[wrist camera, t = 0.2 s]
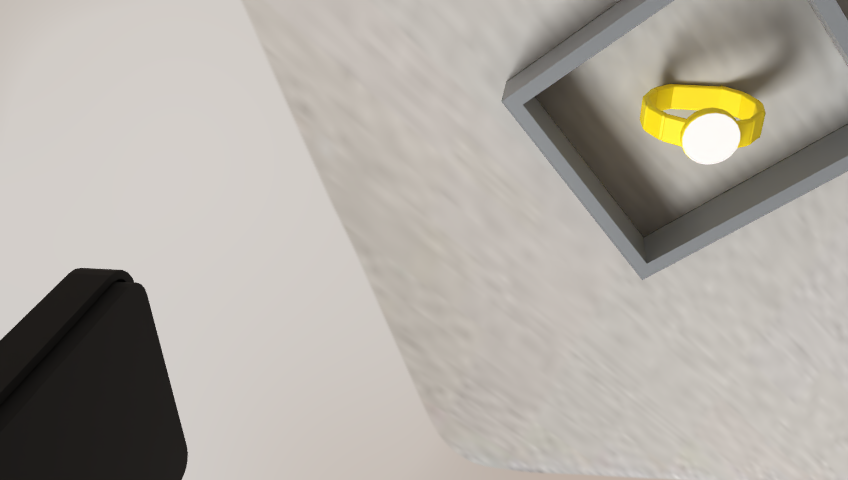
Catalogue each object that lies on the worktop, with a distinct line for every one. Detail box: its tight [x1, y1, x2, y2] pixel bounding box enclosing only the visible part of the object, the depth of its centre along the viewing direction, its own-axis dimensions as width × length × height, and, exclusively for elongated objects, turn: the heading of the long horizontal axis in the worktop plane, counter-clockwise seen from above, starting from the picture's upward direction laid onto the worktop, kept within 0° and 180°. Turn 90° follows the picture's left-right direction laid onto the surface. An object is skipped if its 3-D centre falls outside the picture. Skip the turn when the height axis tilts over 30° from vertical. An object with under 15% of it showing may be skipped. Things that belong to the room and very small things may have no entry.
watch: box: [640, 84, 765, 165], centre depth 42 cm, size 6×3×6 cm, turn 90°
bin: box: [502, 0, 848, 280], centre depth 43 cm, size 14×16×3 cm
